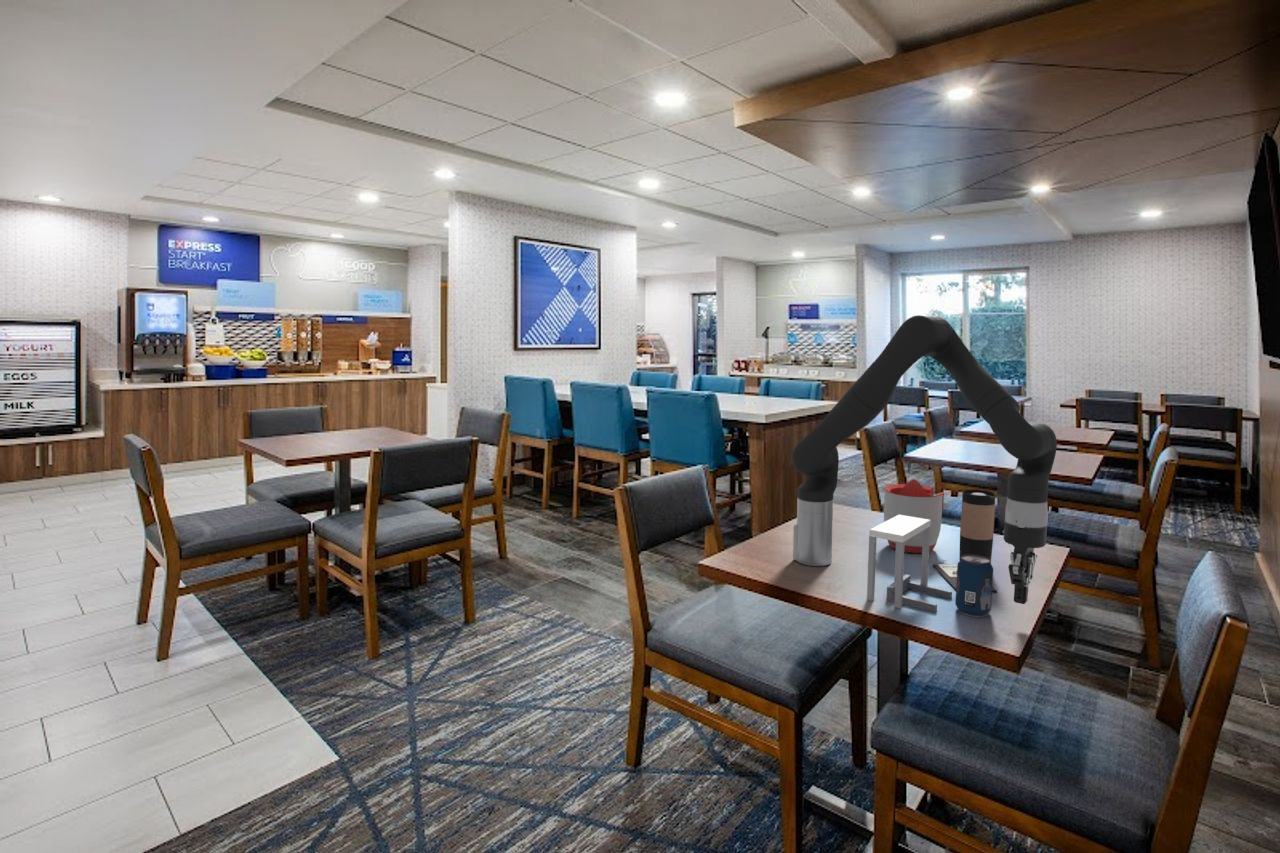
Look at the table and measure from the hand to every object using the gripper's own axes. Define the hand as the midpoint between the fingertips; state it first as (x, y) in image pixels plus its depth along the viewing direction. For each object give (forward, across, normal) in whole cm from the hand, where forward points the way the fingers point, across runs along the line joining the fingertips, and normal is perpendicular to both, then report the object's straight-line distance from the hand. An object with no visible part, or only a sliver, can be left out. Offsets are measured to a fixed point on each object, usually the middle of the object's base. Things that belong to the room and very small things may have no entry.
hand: (1020, 602), depth 137 cm
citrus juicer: (+5, -37, -35) cm, 51 cm away
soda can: (+5, 0, -9) cm, 10 cm away
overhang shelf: (+5, 0, -22) cm, 22 cm away
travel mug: (+5, -30, -17) cm, 35 cm away
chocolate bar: (+5, -20, -17) cm, 27 cm away
